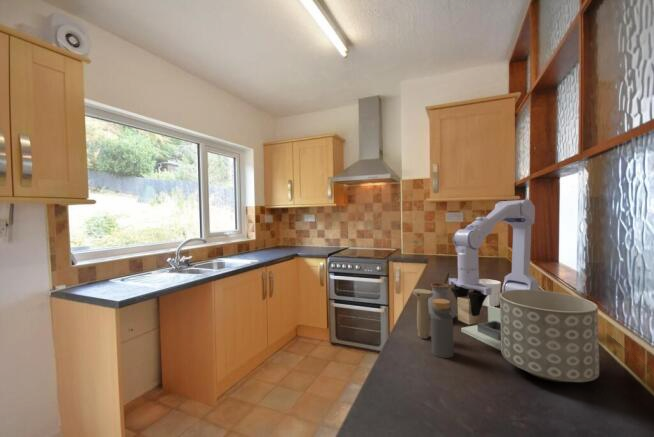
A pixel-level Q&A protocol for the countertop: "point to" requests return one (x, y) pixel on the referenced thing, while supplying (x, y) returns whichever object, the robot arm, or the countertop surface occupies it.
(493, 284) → the cup
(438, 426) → the countertop surface
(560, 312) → the planter
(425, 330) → the handle
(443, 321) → the bottle
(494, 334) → the grey square frame
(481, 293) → the robot arm
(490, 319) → the mounting board
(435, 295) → the coffee pot
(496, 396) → the countertop surface
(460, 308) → the oak post
